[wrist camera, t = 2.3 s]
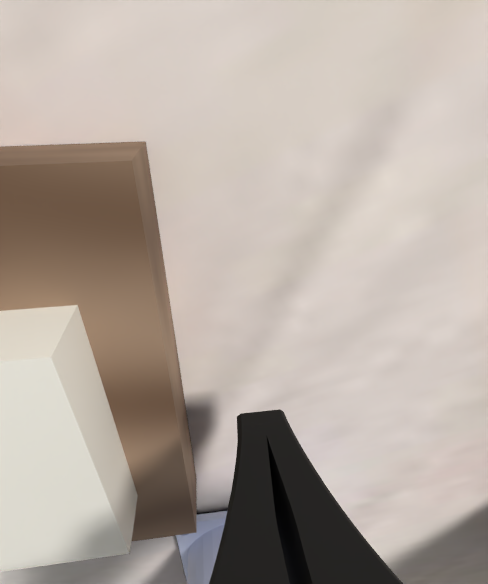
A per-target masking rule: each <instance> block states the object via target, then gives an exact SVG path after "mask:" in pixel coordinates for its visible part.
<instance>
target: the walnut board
mask: <svg viewBox="0 0 488 584" xmlns="http://www.w3.org/2000/svg"><path fill="white" fill-rule="evenodd" d="M71 305H78V308H79V311H80V315H81V318H82V321H83V324H84V327H85V330H86V334H87V337H88V340H89V343H90V346H91V349H92V353H93V356H94V359H95V362H96V365H97V368H98V372H99V375H100V378H101V381H102V384H103V387H104V391H105V394H106V397H107V400H108V403H109V406H110V410H111V413H112V416H113V419H114V422H115V425H116V429H117V432H118V435H119V438H120V441H121V444H122V448H123V451H124V454H125V457H126V460H127V463H128V467H129V470H130V473H131V476H132V479H133V482H134V486H135V489H136V492H137V495H138V497H137V504H136V511H135V519H134V526H133V534H132V541H138V540H145V539H153V538H160V537H167V536H175V535H182V534H189V533H197V530H196V474H195V467H194V460H193V454H192V447H191V440H190V434H189V427H188V420H187V414H186V407H185V400H184V394H183V387H182V380H181V374H180V367H179V361H178V354H177V347H176V341H175V334H174V327H173V321H172V314H171V307H170V301H169V294H168V287H167V281H166V274H165V267H164V261H163V254H162V247H161V241H160V234H159V228H158V221H157V214H156V208H155V201H154V194H153V188H152V181H151V174H150V168H149V161H148V154H147V148H146V142H121V143H93V144H65V145H36V146H8V147H0V311H5V310H18V309H32V308H45V307H58V306H71Z"/></svg>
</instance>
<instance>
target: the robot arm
mask: <svg viewBox="0 0 488 584" xmlns="http://www.w3.org/2000/svg"><path fill="white" fill-rule="evenodd" d="M237 430H238V446H237V457H236V465H235V472H234V479H233V485H232V491H231V496H230V501H229V506H228V511H221V512H213V513H206V514H198V515H196V530H197V533H189V534H182V535H176V539H177V543H178V547H179V551H180V555H181V560H182V564H183V568H184V572H185V576H186V581H187V584H403V583H402V582H401V581H400V580H399V578H398V577H397V576H396V575H395V574H394V573H393V572H392V571H391V570H390V568H389V567H388V566H387V565H386V564H385V563H384V561H383V560H382V559H381V558H380V557H379V555H378V554H377V553H376V552H375V551H374V549H373V548H372V547H371V546H370V545H369V543H368V542H367V541H366V540H365V538H364V537H363V536H362V535H361V533H360V532H359V531H358V530H357V528H356V527H355V526H354V524H353V523H352V522H351V520H350V519H349V518H348V516H347V515H346V514H345V512H344V511H343V510H342V508H341V507H340V505H339V504H338V503H337V501H336V500H335V498H334V497H333V496H332V494H331V493H330V491H329V490H328V488H327V487H326V485H325V484H324V482H323V481H322V479H321V478H320V476H319V475H318V473H317V472H316V470H315V468H314V467H313V465H312V464H311V462H310V461H309V459H308V457H307V456H306V454H305V452H304V451H303V449H302V447H301V445H300V444H299V442H298V440H297V438H296V436H295V435H294V433H293V431H292V429H291V427H290V425H289V423H288V421H287V419H286V417H285V414H284V412H283V411H281V410H272V411H263V412H253V413H244V414H240V415H239V416H237Z"/></svg>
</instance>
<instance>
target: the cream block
mask: <svg viewBox="0 0 488 584" xmlns="http://www.w3.org/2000/svg"><path fill="white" fill-rule="evenodd" d="M137 497H138V495H137V492H136V489H135V486H134V482H133V479H132V476H131V473H130V470H129V467H128V463H127V460H126V457H125V454H124V451H123V448H122V444H121V441H120V438H119V435H118V432H117V429H116V425H115V422H114V419H113V416H112V413H111V410H110V406H109V403H108V400H107V397H106V394H105V391H104V387H103V384H102V381H101V378H100V375H99V372H98V368H97V365H96V362H95V359H94V356H93V353H92V349H91V346H90V343H89V340H88V337H87V334H86V330H85V327H84V324H83V321H82V318H81V315H80V311H79V308H78V305H71V306H58V307H45V308H32V309H18V310H5V311H0V572H4V571H11V570H18V569H25V568H32V567H39V566H46V565H54V564H61V563H68V562H75V561H82V560H89V559H97V558H104V557H111V556H118V555H125V554H130V548H131V541H132V534H133V526H134V519H135V511H136V504H137Z"/></svg>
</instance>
